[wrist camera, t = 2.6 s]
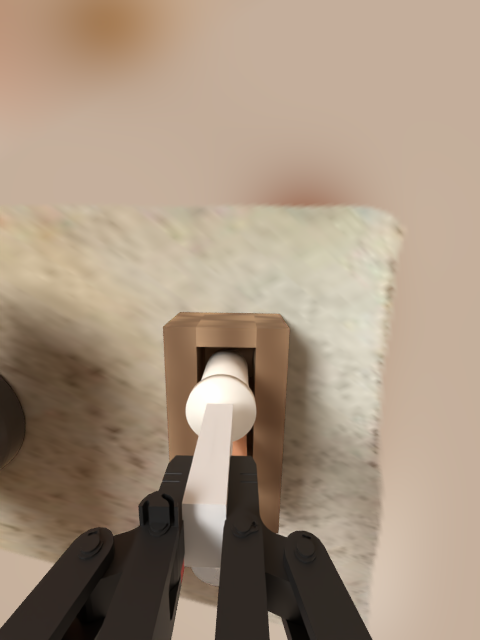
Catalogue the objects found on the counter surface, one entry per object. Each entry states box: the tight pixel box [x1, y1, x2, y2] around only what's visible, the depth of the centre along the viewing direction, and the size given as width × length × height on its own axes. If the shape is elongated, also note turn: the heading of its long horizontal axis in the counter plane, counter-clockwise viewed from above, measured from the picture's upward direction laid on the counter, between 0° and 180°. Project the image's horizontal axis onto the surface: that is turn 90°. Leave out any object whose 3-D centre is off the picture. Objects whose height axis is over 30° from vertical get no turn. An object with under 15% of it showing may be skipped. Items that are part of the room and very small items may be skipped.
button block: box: [163, 312, 290, 533], centre depth 27 cm, size 10×20×6 cm, turn 179°
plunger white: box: [186, 349, 256, 442], centre depth 20 cm, size 4×4×7 cm
